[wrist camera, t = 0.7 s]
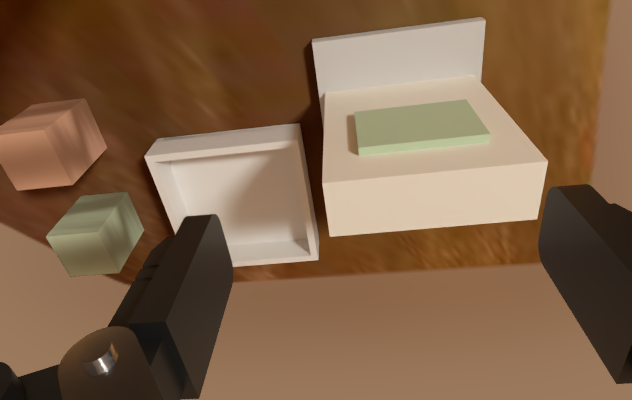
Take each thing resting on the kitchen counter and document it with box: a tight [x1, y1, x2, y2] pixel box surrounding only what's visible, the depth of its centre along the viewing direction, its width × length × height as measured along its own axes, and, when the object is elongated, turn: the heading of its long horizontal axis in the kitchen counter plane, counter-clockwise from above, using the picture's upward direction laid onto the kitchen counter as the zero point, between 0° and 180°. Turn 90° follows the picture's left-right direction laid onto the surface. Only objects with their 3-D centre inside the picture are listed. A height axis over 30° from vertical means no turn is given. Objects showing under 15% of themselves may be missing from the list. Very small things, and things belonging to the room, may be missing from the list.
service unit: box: [312, 17, 548, 237], centre depth 28 cm, size 9×12×14 cm
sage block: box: [46, 192, 144, 277], centre depth 39 cm, size 4×4×6 cm
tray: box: [144, 123, 319, 267], centre depth 38 cm, size 12×12×3 cm
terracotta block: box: [0, 98, 107, 191], centre depth 34 cm, size 4×4×6 cm
